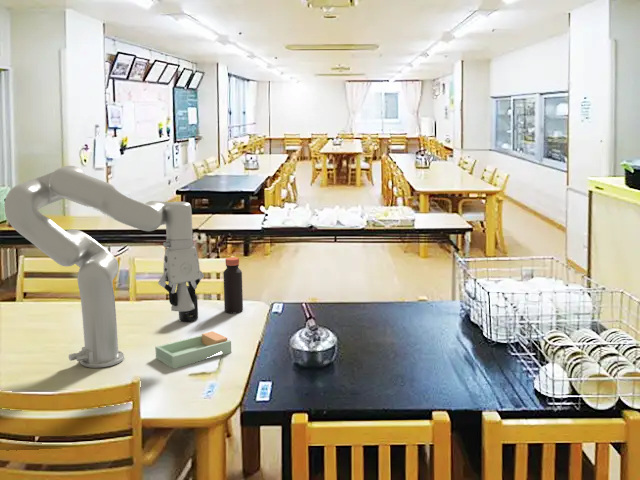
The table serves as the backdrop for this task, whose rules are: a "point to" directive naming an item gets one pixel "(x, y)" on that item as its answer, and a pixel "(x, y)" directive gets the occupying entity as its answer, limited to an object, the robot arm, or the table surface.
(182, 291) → the flask
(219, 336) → the block
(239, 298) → the vinegar
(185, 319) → the supplement bottle
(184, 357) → the pale green shallow box
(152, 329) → the table surface
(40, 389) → the table surface
